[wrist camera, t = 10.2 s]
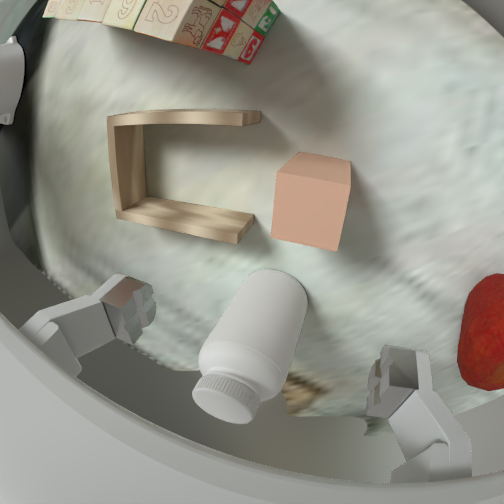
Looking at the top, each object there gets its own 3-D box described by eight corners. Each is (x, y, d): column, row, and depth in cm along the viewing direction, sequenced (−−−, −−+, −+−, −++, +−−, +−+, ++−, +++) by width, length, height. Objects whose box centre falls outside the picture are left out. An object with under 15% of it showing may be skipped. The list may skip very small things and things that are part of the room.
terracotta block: (293, 199, 25) (270, 237, 19) (299, 151, 23) (276, 172, 16) (341, 209, 24) (337, 252, 18) (350, 161, 22) (350, 186, 15)
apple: (433, 325, 26) (445, 415, 17) (459, 242, 21) (504, 329, 11) (502, 326, 23) (527, 404, 13) (534, 251, 18) (584, 325, 8)
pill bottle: (228, 291, 34) (163, 390, 21) (270, 253, 29) (206, 367, 17) (276, 331, 34) (234, 436, 22) (323, 301, 30) (293, 424, 17)
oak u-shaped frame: (141, 203, 31) (116, 218, 28) (136, 111, 26) (106, 116, 22) (253, 223, 28) (236, 244, 24) (260, 111, 22) (242, 113, 18)
